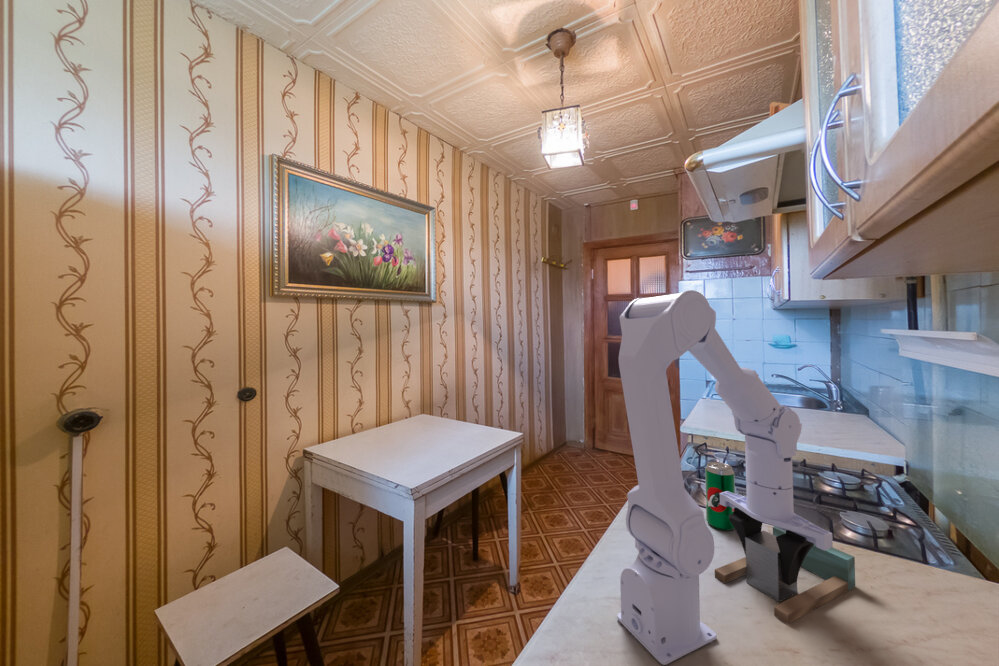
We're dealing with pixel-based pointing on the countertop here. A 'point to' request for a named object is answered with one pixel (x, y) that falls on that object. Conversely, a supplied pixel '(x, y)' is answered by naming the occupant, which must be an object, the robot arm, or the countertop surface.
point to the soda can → (718, 494)
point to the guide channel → (822, 563)
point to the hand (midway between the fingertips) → (771, 571)
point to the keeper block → (766, 566)
